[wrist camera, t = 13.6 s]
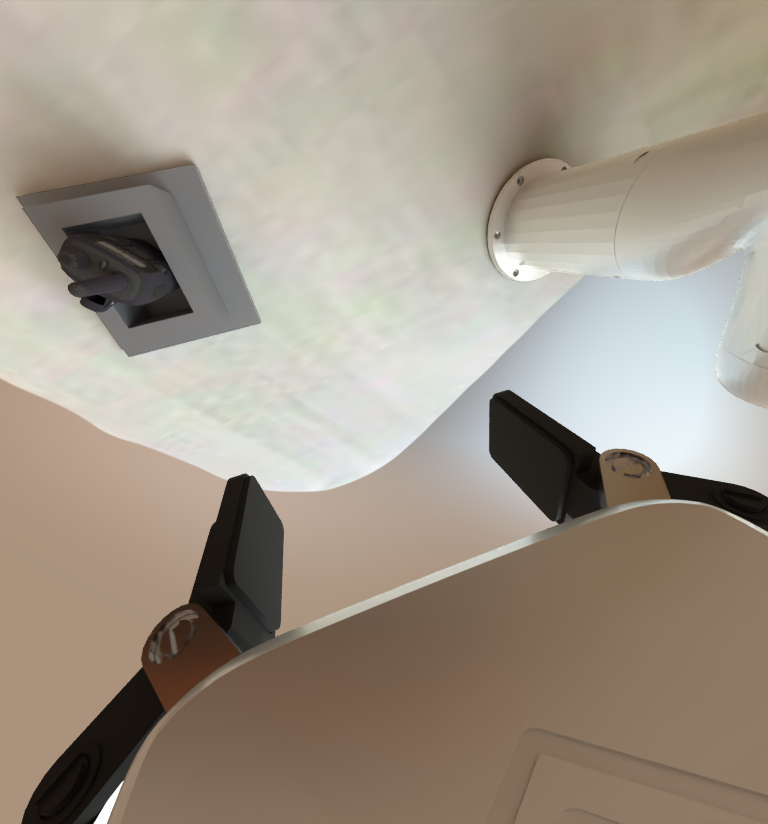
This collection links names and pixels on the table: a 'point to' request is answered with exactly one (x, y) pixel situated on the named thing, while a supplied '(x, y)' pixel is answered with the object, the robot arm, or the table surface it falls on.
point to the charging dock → (165, 230)
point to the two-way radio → (115, 271)
